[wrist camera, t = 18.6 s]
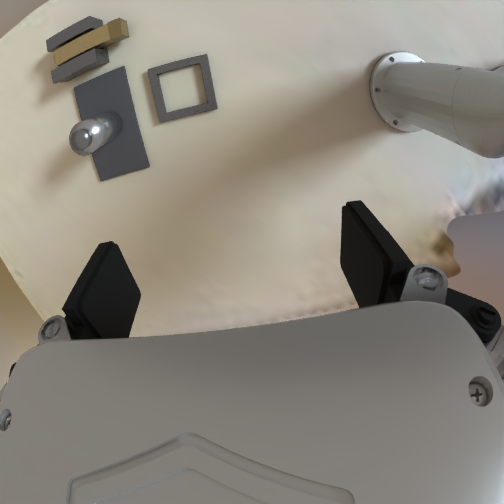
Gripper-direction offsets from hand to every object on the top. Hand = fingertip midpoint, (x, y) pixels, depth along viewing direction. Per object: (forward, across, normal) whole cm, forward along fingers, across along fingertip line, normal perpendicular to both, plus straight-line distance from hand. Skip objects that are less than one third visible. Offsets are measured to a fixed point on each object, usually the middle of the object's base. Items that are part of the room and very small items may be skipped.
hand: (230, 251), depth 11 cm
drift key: (+27, +16, -17) cm, 35 cm away
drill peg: (+27, +16, -5) cm, 32 cm away
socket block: (+28, +18, -17) cm, 37 cm away
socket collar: (+28, +5, -7) cm, 29 cm away
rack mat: (+28, +16, -5) cm, 32 cm away
